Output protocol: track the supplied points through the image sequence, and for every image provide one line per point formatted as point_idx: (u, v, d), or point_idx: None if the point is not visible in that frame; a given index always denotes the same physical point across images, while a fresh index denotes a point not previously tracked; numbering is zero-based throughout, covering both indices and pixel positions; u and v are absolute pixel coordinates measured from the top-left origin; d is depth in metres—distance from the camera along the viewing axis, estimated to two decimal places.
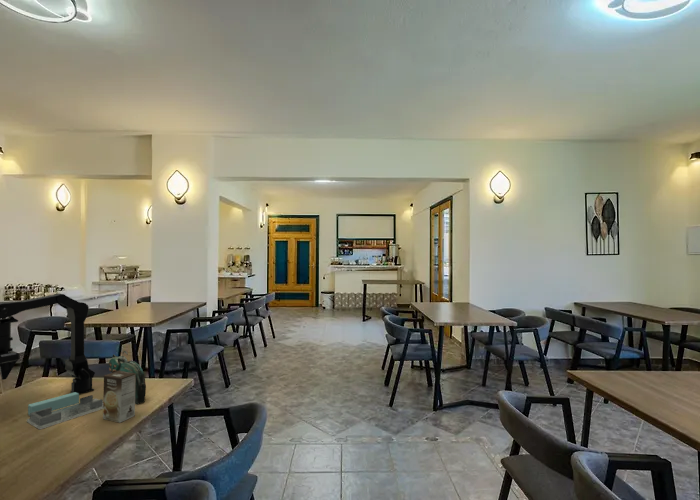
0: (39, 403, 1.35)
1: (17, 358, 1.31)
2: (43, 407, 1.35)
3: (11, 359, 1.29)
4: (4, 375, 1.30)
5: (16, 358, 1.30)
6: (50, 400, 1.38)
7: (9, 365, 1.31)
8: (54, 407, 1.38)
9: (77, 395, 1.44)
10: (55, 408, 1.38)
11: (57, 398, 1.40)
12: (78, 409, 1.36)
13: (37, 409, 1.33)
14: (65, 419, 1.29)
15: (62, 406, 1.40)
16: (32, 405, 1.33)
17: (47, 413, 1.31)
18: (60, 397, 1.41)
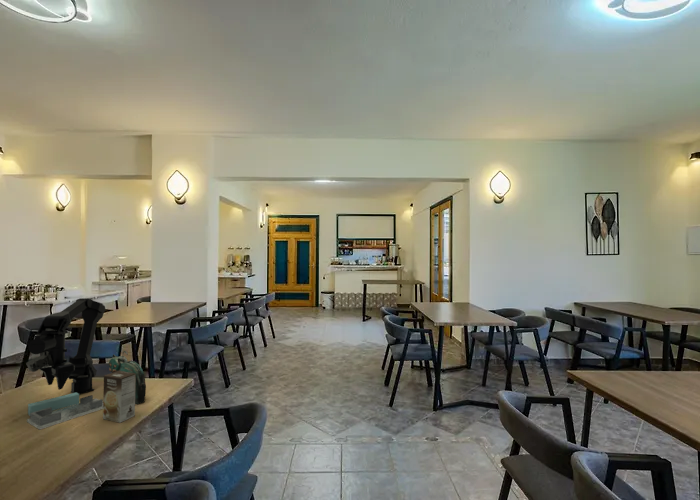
0: (39, 403, 1.35)
1: (73, 369, 1.37)
2: (42, 407, 1.35)
3: (68, 370, 1.35)
4: (60, 385, 1.37)
5: (72, 369, 1.37)
6: (50, 399, 1.38)
7: (65, 376, 1.37)
8: (53, 407, 1.38)
9: (77, 395, 1.44)
10: (55, 408, 1.38)
11: (57, 398, 1.40)
12: (78, 409, 1.36)
13: (36, 409, 1.34)
14: (65, 419, 1.29)
15: (62, 406, 1.40)
16: (31, 405, 1.33)
17: (47, 413, 1.31)
18: (60, 397, 1.41)
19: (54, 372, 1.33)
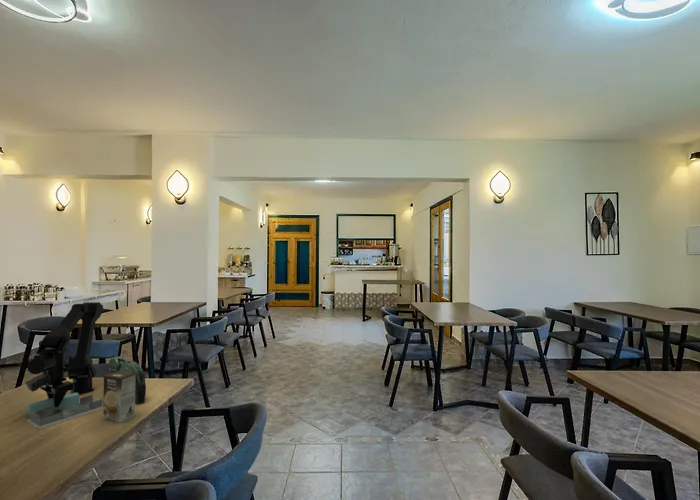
0: (38, 402, 1.35)
1: (72, 388, 1.37)
2: (42, 407, 1.35)
3: (67, 389, 1.35)
4: (56, 403, 1.38)
5: (71, 388, 1.36)
6: (50, 399, 1.38)
7: (61, 393, 1.38)
8: (53, 407, 1.38)
9: (77, 396, 1.43)
10: (54, 408, 1.38)
11: None
12: (78, 409, 1.36)
13: (35, 409, 1.34)
14: (65, 419, 1.29)
15: (61, 406, 1.40)
16: (31, 404, 1.34)
17: (47, 413, 1.31)
18: None
19: (53, 392, 1.33)
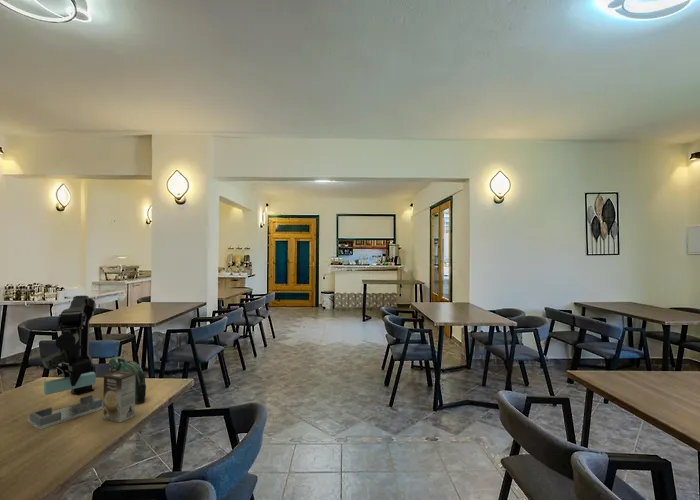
0: (54, 381, 1.31)
1: (89, 366, 1.32)
2: (58, 385, 1.31)
3: (84, 367, 1.31)
4: (73, 382, 1.33)
5: (89, 366, 1.32)
6: (66, 378, 1.34)
7: (78, 372, 1.34)
8: (69, 386, 1.33)
9: (93, 375, 1.39)
10: (70, 387, 1.33)
11: None
12: (78, 409, 1.36)
13: (52, 387, 1.29)
14: (65, 419, 1.29)
15: (78, 385, 1.35)
16: (47, 382, 1.29)
17: (47, 413, 1.31)
18: None
19: (71, 369, 1.28)
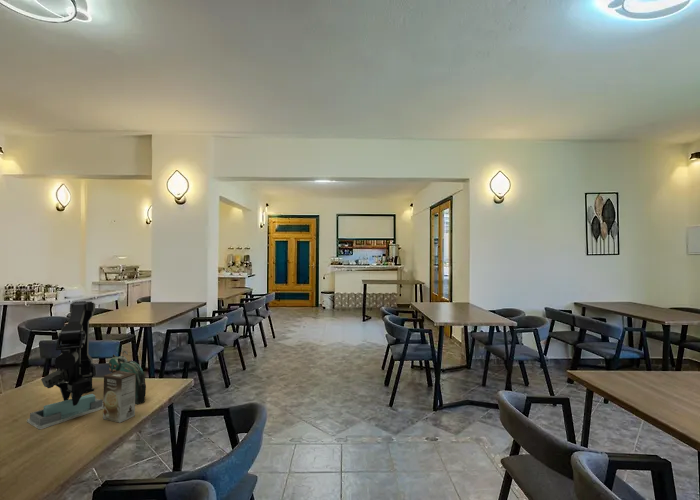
0: (54, 405, 1.30)
1: (89, 385, 1.32)
2: (58, 409, 1.30)
3: (84, 386, 1.30)
4: (75, 402, 1.32)
5: (88, 385, 1.32)
6: (65, 401, 1.34)
7: (80, 391, 1.33)
8: (69, 409, 1.33)
9: (93, 397, 1.39)
10: (70, 410, 1.33)
11: None
12: None
13: (52, 411, 1.29)
14: (65, 419, 1.29)
15: (78, 408, 1.35)
16: (47, 407, 1.29)
17: None
18: None
19: (70, 388, 1.28)
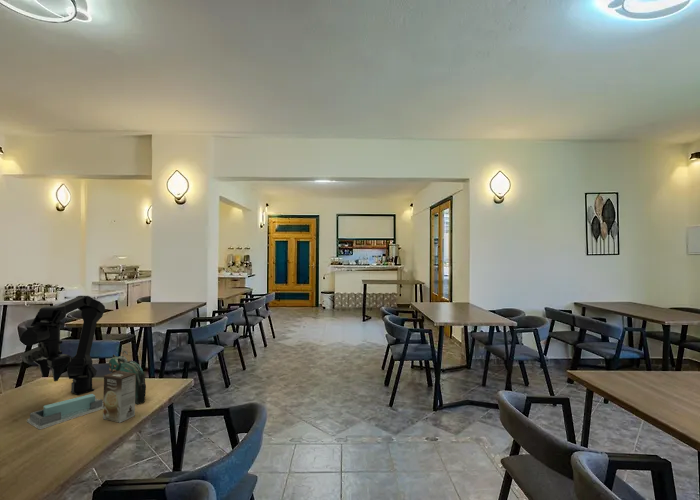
0: (54, 405, 1.30)
1: (69, 361, 1.36)
2: (58, 409, 1.30)
3: (64, 362, 1.35)
4: (56, 377, 1.36)
5: (68, 361, 1.36)
6: (65, 401, 1.34)
7: (61, 367, 1.37)
8: (69, 409, 1.33)
9: (93, 397, 1.39)
10: (70, 410, 1.33)
11: (72, 400, 1.35)
12: None
13: (52, 411, 1.29)
14: (65, 419, 1.29)
15: (78, 408, 1.35)
16: (47, 407, 1.29)
17: None
18: (76, 399, 1.36)
19: (50, 364, 1.32)
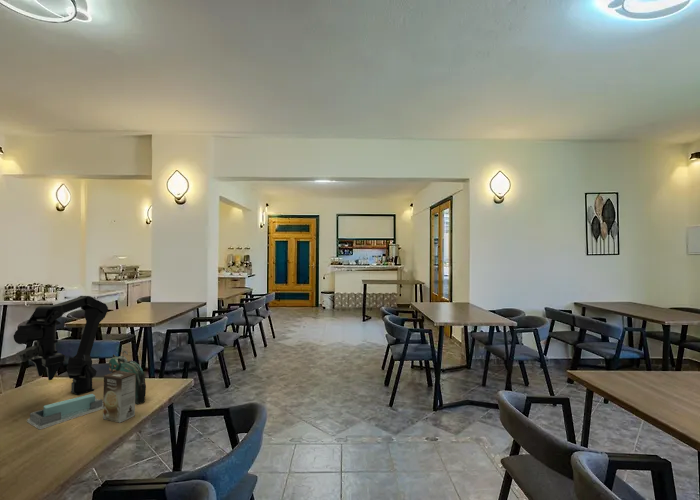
0: (54, 405, 1.30)
1: (63, 360, 1.37)
2: (58, 409, 1.30)
3: (58, 360, 1.35)
4: (50, 376, 1.36)
5: (62, 360, 1.36)
6: (65, 401, 1.34)
7: (55, 366, 1.37)
8: (69, 409, 1.33)
9: (93, 397, 1.39)
10: (70, 410, 1.33)
11: (72, 400, 1.35)
12: None
13: (52, 411, 1.29)
14: (65, 419, 1.29)
15: (78, 408, 1.35)
16: (47, 407, 1.29)
17: None
18: (76, 399, 1.36)
19: (44, 362, 1.33)
